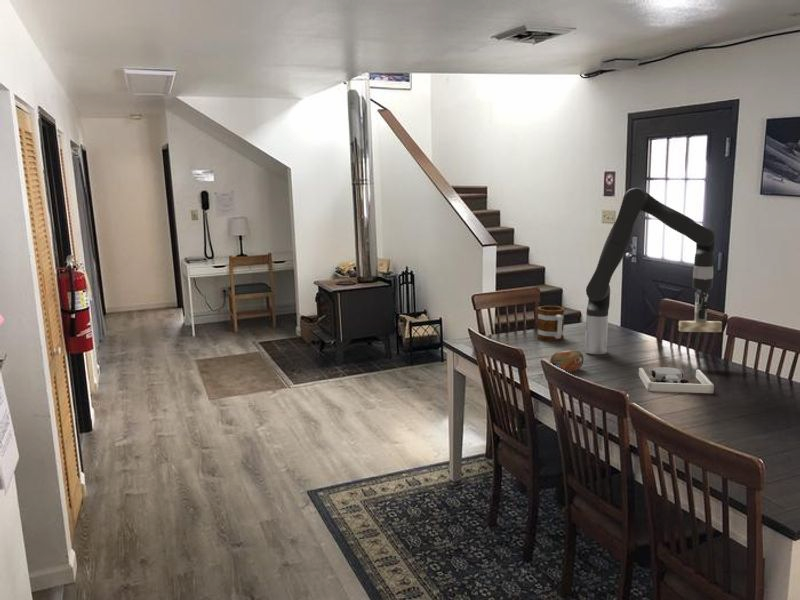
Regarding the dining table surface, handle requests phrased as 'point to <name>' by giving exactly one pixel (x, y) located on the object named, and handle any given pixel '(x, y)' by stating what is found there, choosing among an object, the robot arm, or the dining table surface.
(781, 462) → the dining table surface
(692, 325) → the scraper
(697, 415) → the dining table surface
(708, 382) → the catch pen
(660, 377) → the robot toy
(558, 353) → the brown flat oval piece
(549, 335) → the mug
